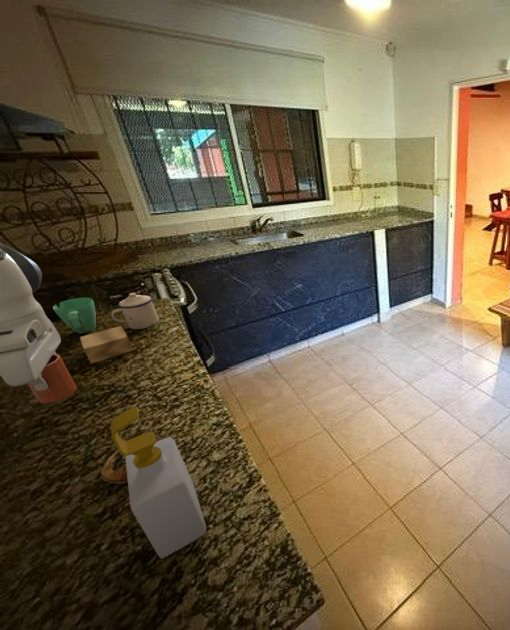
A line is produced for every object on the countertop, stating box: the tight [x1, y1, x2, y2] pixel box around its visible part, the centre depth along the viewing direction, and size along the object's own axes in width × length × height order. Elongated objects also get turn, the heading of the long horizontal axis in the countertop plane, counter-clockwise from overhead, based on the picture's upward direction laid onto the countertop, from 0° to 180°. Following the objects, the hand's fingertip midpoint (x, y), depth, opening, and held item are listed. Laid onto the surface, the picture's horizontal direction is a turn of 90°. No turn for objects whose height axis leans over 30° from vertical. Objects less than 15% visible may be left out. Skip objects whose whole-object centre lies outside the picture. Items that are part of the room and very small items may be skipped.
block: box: [79, 325, 134, 364], centre depth 105 cm, size 10×10×5 cm
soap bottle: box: [110, 405, 207, 560], centre depth 53 cm, size 12×7×23 cm, turn 41°
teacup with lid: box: [110, 292, 160, 330], centre depth 118 cm, size 12×9×12 cm
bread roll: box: [100, 434, 164, 485], centre depth 68 cm, size 11×11×5 cm
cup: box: [27, 353, 78, 404], centre depth 78 cm, size 7×7×9 cm
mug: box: [52, 297, 97, 334], centre depth 114 cm, size 15×10×10 cm
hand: (49, 379), depth 78 cm, fingers closed on cup, 6 cm apart
